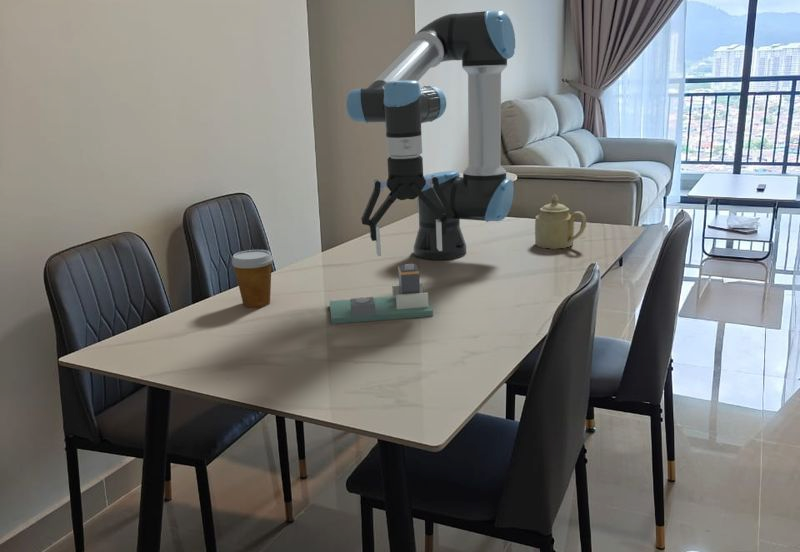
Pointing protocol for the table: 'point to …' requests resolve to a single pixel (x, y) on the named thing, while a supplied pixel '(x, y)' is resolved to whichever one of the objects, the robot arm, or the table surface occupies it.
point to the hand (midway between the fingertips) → (409, 252)
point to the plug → (408, 279)
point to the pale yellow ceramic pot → (556, 226)
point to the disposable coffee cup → (253, 276)
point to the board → (381, 307)
